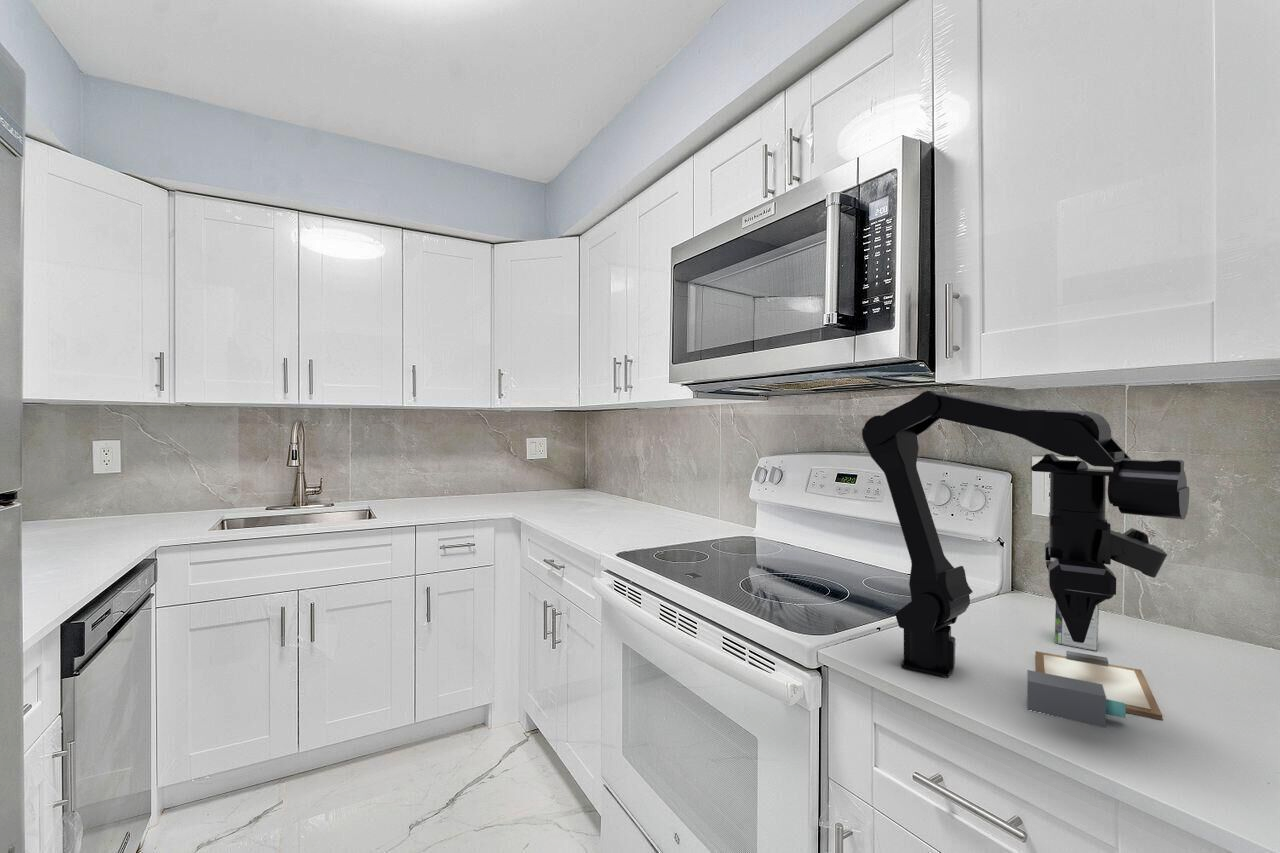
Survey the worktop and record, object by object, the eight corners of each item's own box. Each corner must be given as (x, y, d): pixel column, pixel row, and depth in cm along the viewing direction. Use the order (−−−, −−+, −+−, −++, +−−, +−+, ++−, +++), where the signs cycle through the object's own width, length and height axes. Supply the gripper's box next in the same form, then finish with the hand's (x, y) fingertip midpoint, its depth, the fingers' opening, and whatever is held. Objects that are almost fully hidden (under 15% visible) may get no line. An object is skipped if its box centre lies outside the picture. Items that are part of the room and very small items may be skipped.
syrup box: (1057, 633, 103) (1057, 551, 103) (1100, 641, 100) (1100, 556, 99) (1054, 643, 99) (1054, 557, 99) (1099, 652, 95) (1099, 563, 95)
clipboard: (1037, 694, 81) (1037, 682, 81) (1035, 654, 94) (1035, 644, 94) (1162, 720, 74) (1162, 707, 74) (1141, 673, 87) (1141, 663, 87)
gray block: (1027, 711, 76) (1027, 680, 76) (1027, 699, 80) (1027, 669, 80) (1126, 733, 71) (1126, 700, 71) (1121, 719, 74) (1122, 688, 74)
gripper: (1177, 526, 63) (1175, 671, 63) (1146, 505, 78) (1145, 621, 79) (1050, 517, 69) (1048, 649, 69) (1045, 498, 85) (1044, 606, 85)
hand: (1075, 630), depth 75 cm, fingers open, 9 cm apart
